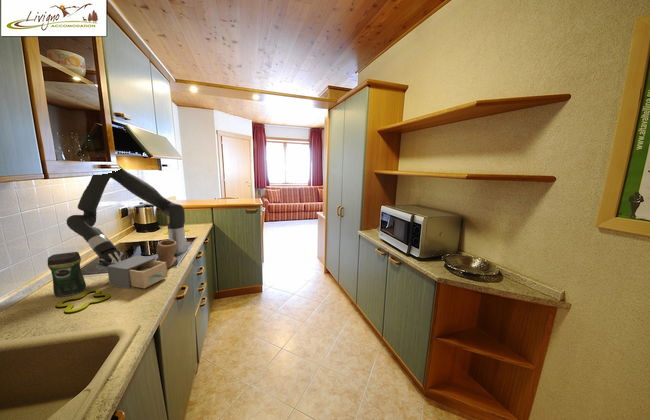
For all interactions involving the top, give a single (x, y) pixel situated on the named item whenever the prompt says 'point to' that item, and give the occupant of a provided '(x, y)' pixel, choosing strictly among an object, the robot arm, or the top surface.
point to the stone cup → (167, 252)
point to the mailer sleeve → (125, 270)
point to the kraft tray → (147, 274)
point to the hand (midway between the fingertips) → (123, 270)
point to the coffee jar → (66, 273)
